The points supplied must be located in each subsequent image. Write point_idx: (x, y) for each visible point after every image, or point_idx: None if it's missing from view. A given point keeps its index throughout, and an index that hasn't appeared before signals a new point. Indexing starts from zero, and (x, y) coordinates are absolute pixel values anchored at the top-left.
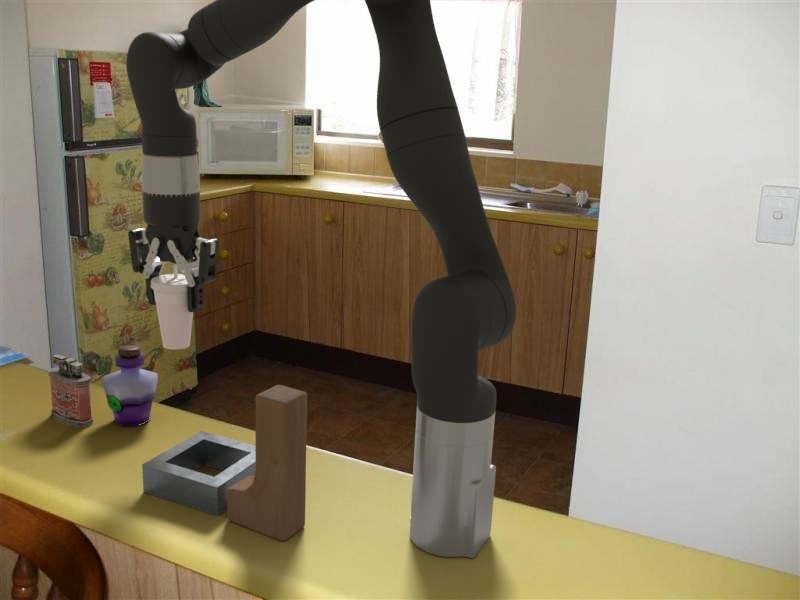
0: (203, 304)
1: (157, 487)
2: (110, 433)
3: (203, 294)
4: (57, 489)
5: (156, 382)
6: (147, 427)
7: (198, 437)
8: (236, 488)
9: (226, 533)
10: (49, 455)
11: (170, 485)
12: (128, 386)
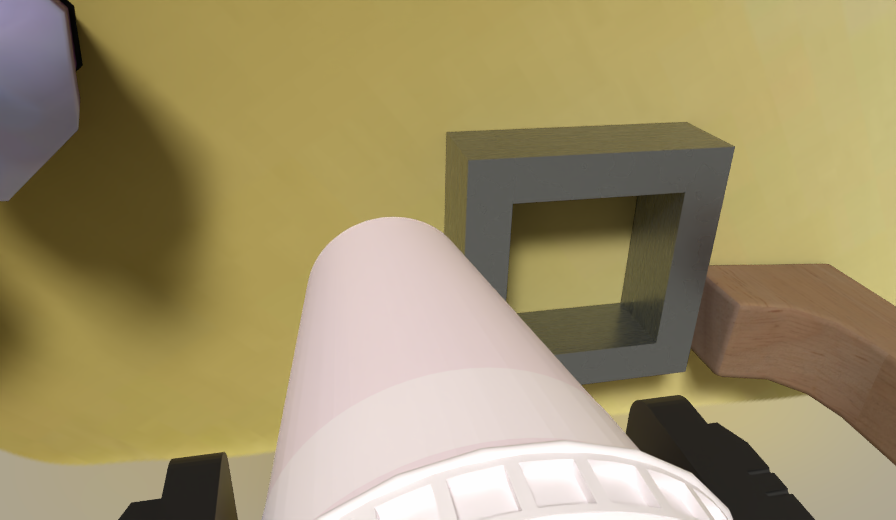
0: (736, 440)
1: None
2: (54, 169)
3: (805, 516)
4: (257, 449)
5: (60, 21)
6: (117, 55)
7: (490, 203)
8: (743, 374)
9: (691, 361)
10: (57, 369)
11: None
12: (24, 163)
